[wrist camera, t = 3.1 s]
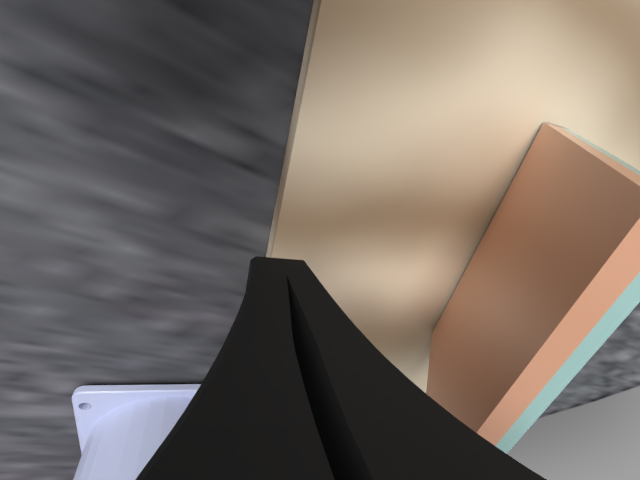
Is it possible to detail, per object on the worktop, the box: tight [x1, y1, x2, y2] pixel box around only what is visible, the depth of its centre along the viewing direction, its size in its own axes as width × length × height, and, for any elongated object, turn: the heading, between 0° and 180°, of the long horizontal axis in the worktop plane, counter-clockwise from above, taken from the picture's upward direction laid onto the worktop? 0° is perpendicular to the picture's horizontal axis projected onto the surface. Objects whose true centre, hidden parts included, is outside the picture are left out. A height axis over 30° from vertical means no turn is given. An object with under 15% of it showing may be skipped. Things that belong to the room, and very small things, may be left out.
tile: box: [426, 122, 640, 454], centre depth 11 cm, size 10×8×1 cm
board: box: [266, 0, 640, 393], centre depth 16 cm, size 20×19×1 cm
